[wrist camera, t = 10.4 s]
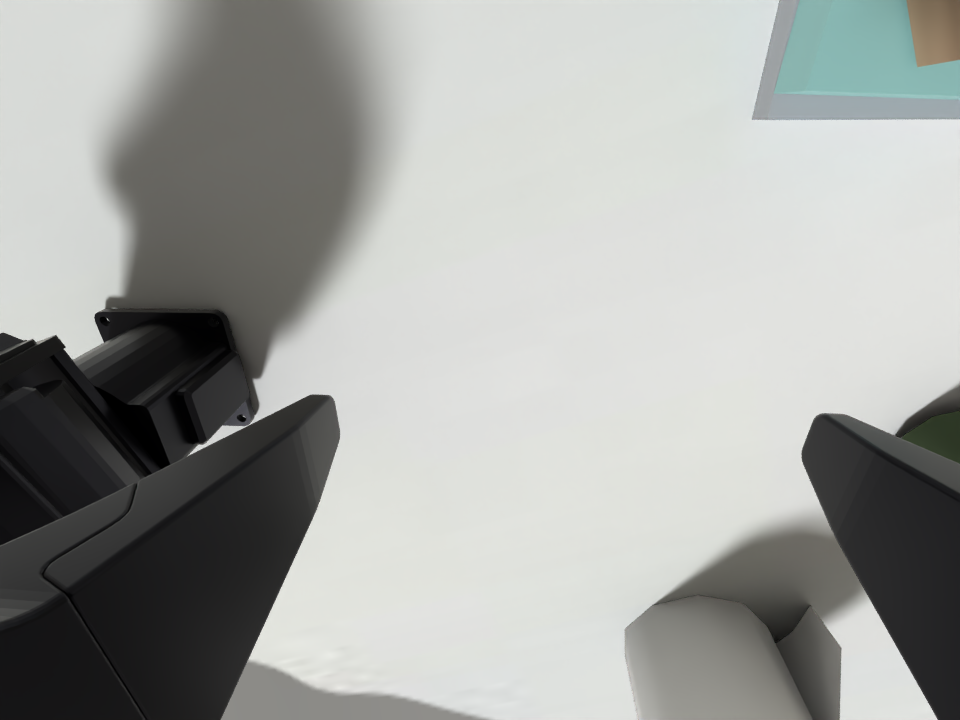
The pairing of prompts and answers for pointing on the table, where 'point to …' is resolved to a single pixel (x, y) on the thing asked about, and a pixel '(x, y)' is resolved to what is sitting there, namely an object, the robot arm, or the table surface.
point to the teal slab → (860, 53)
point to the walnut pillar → (935, 30)
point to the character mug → (939, 435)
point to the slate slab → (827, 105)
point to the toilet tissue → (729, 664)
